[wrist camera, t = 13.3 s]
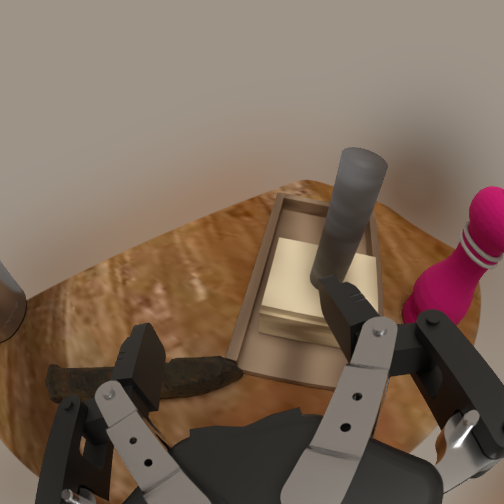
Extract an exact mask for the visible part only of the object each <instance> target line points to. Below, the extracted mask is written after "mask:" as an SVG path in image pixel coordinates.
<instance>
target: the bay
mask: <svg viewBox="0 0 504 504" xmlns="http://www.w3.org/2000/svg"><path fill="white" fill-rule="evenodd" d="M329 205H330V202H325V201H320V200H315V199H310V198H305V197H300V196H295V195H289V194H284V193H277V196H276V199H275V202H274V206H273V209H272V212H271V215H270V218H269V222H268V225H267V228H266V231H265V234H264V238H263V241H262V244H261V247H260V250H259V253H258V257H257V260H256V263H255V266H254V269H253V272H252V276H251V279H250V282H249V285H248V288H247V291H246V294H245V298H244V301H243V304H242V307H241V310H240V313H239V316H238V320H237V323H236V326H235V329H234V332H233V335H232V338H231V341H230V344H229V348H228V351H227V354H226V357H225V358H226V359H227V360H229V361H231V362H234V363H235V364H236V365H237V366H238V367H239V368H241V369H242V370H243V373H245V374H249V375H254V376H258V377H263V378H267V379H272V380H277V381H282V382H287V383H292V384H297V385H303V386H309V387H315V388H321V389H328V390H335V389H336V387H337V384H338V382H339V380H340V377H341V374H342V372H343V369H344V367H345V365H346V364H347V363H348V361H347V359H346V357H345V355H344V354H343V352H342V350H341V348H337V347H331V346H325V345H319V344H314V343H309V342H303V341H298V340H293V339H288V338H283V337H278V336H274V335H269V334H265V333H260V332H258V331H259V322H260V320H259V313H260V309H261V305H262V301H263V297H264V293H265V290H266V286H267V282H268V278H269V275H270V271H271V267H272V263H273V260H274V256H275V252H276V248H277V244H278V240H279V237H280V238H285V239H290V240H295V241H300V242H305V243H310V244H315V245H319V242H320V238H321V235H322V231H323V227H324V224H325V220H326V216H327V212H328V209H329ZM356 253H358V254H363V255H368V256H372V257H376V270H377V289H378V314H379V315H380V316H381V317H384V312H383V288H382V272H381V260H380V249H379V240H378V231H377V223H376V216H375V213H374V212H372V213H371V216H370V219H369V221H368V224H367V226H366V229H365V231H364V234H363V236H362V239H361V241H360V244H359V246H358V249H357V251H356Z"/></svg>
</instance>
